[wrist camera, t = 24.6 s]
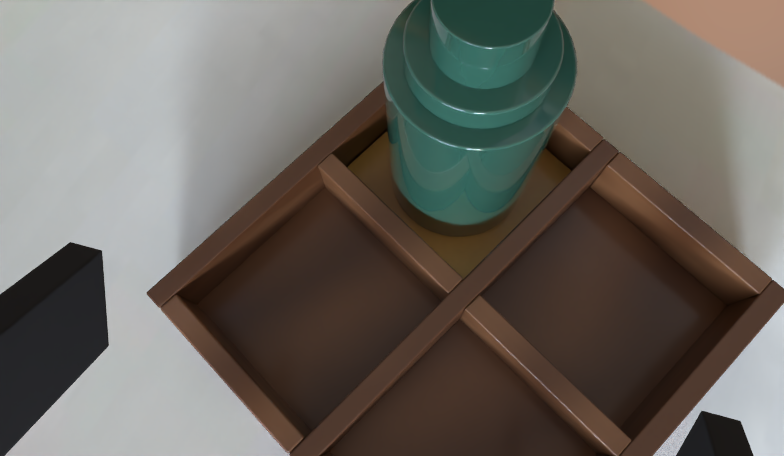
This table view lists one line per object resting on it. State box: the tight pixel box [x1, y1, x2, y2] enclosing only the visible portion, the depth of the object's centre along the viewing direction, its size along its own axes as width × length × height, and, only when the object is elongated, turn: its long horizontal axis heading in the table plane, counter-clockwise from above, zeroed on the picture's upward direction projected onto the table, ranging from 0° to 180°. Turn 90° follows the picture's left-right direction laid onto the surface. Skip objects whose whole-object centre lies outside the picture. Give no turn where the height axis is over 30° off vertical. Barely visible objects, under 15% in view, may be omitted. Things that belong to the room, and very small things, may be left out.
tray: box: [147, 81, 784, 456], centre depth 25 cm, size 17×17×3 cm
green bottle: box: [382, 0, 577, 237], centre depth 21 cm, size 6×6×12 cm
